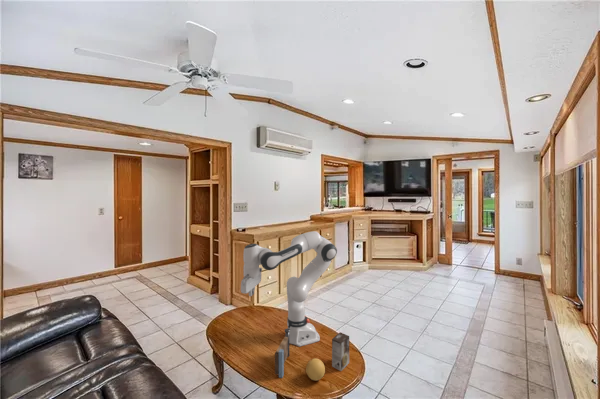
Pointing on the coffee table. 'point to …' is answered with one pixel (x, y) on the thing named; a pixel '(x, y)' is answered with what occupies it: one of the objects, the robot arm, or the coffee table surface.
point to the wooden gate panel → (282, 346)
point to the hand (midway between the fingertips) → (251, 295)
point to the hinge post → (288, 337)
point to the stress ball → (315, 369)
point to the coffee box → (340, 351)
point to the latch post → (281, 363)
